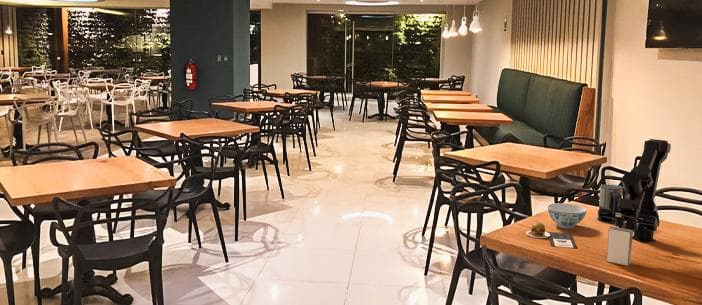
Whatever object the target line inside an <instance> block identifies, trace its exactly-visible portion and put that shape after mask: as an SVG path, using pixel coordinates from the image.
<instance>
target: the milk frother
mask: <svg viewBox="0 0 702 305" xmlns="http://www.w3.org/2000/svg"><path fill="white" fill-rule="evenodd" d="M599 187H600V190H599V200H598V201H599V202H598V204H599V205H598V210H599V209H600V208H601V207H602V208H608V209H611V210H612V213H614V214H616V213H620V212H618V209H619V207H617V206H618V202H619V198H623V189H624V186H623V185H622V186H621V185H618V184H617V185H616V184H607V183H606V184H605V183H604V184H601V185H600V184H599ZM596 219H597V220H598V221H599V222H601V221H600V220H599V216H598V215H597V218H596ZM610 224H615V221H614V219H613V220H612V222H611V223H610Z"/></svg>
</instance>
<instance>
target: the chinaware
mask: <svg viewBox="0 0 702 305" xmlns="http://www.w3.org/2000/svg"><path fill="white" fill-rule="evenodd" d="M547 212H548V214H549V217H550V219H551V221H553V223H555V224H556V226H557V227H558V228H561V229H565V230H566V229H570V230H571V229H574V228H575V226H577V225H578V224H580V223H581V222H582V221H583V219H584V218H585V216H586V214H587V208H585V207H584V206H582V205H579V204H572V203H562V202H559V203H558V202H557V203H550V204H548V205H547Z"/></svg>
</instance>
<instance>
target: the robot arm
mask: <svg viewBox="0 0 702 305" xmlns="http://www.w3.org/2000/svg"><path fill="white" fill-rule="evenodd" d="M643 143H644V144H643V151H642V153H641V157H640V159H639V161H638V164H637V165H636V166H634V167H633V168H632V169H631V170H630V171H629V172H627V173H624V174H623V176H622V178H621V180H622V187H623V189H624V192H625V196H624V197H622V198H619V202H618V206H617V207H619V209H618V212H620V213H616V214H614V213H612V210H611V209H608V208H602V207H601V208H600V209H599V208H598V211H597V217H598V216H599V220H600V221H599V220H598V221H599V222H601V223H605V224H612V223H611V222H612V220H613V219H614V221H615V223H614V225H615V227H619V228H624V229H630V230H633V235H632V240H633V239H634V240H636V241H638V242H640V243H650V242H656V241H657V239H656V238H654V234H655V232H657V231H658V230H657V229H658V227H659V226H660V215H659V211H658V207H657V205H656V202H655V197H656V193H657V187H658V181H659V177H660V170H661V168H662V167H661V166H662V163H664V162H665V161H666V160H667V159H668V156H669V153H671V148H672V144H671V143H669V141H668V140H665V139H664V140H663V139H656V138H654V139H653V138H650V139H648V140H644V142H643ZM625 222H626V223H625Z"/></svg>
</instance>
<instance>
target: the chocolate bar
mask: <svg viewBox="0 0 702 305" xmlns="http://www.w3.org/2000/svg"><path fill="white" fill-rule="evenodd" d="M547 233H549V234H550V236H549V237H548V240H549V243H550V246H551V247H553V248H563V249H564V248H565V249H567V248H568V249H578V246H577V243H576V241H575V238H574V235H573V234H572V233H569V232H556V231H554V232H553V231H547Z"/></svg>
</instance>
